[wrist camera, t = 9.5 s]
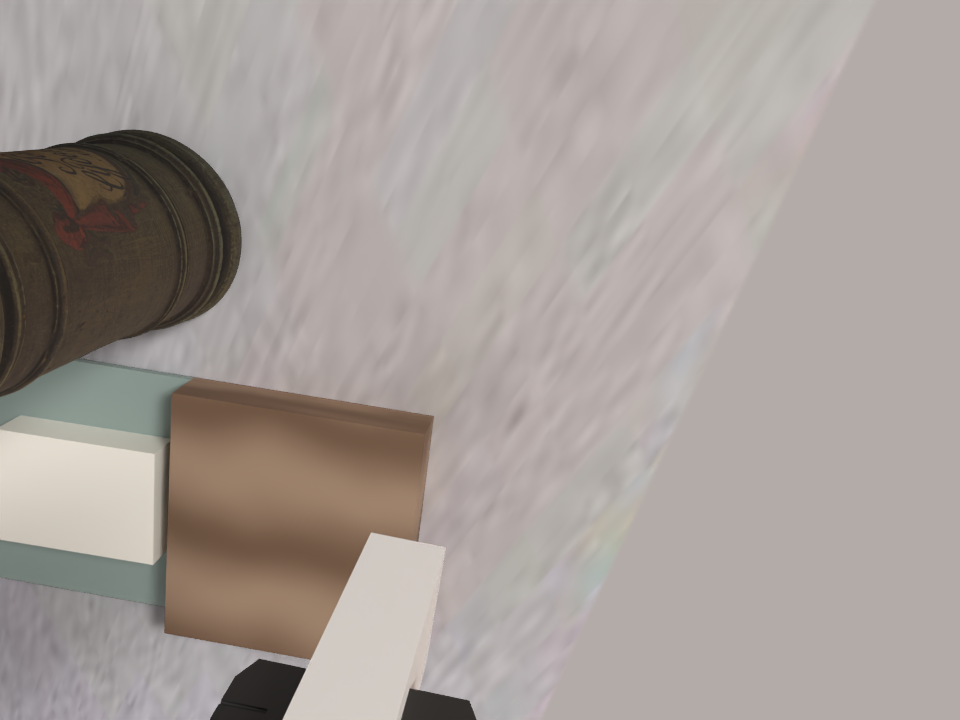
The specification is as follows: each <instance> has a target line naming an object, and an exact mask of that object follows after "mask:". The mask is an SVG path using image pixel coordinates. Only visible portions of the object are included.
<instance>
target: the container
mask: <svg viewBox="0 0 960 720" xmlns="http://www.w3.org/2000/svg"><path fill="white" fill-rule="evenodd" d="M240 255H241V227H240V222H239V217H238V214H237V211H236V208H235V205H234V202H233V200H232V198H231V195H230V193H229V191H228V190H227V188H226V186H225V184H224V183H223V181H222V180H221V178H220V177H219V176H218V174H217V173H216V172H215V171H214V170H213V168H212V167H211V166H210V165H209V164H208V163H207V162H206V161H205V160H204V159H203V158H202V157H200V156H199V155H198V154H197V153H195V152H194V151H193V150H191V149H190V148H188V147H187V146H185V145H183V144H182V143H180V142H178V141H176V140H174V139H172V138H169V137H167V136H164V135H161V134H158V133H154V132H149V131H142V130H121V131H115V132H110V133H105V134H98V135H94V136H90V137H87V138H84V139H82V140H80V141H78V142H76V143H65V144H59V145H55V146H51V147H48V148H45V149H39V150H25V151H13V152H0V397H2V396H6V395H9V394H11V393H14V392H16V391H19V390H21V389H22V388H24V387H26V386H27V385H29V384H30V383H32V382H33V381H34V380H36V379H37V378H38V377H40V376H42V375H44V374H46V373H49V372H51V371H53V370H55V369H57V368H59V367H61V366H63V365H66V364H68V363H70V362H72V361H74V360H76V359H78V358H80V357H82V356H84V355H86V354H88V353H90V352H92V351H94V350H96V349H99V348H101V347H103V346H105V345H107V344H110V343H112V342H114V341H116V340H121V339H126V338H131V337H135V336H138V335H141V334H143V333H145V332H147V331H149V330H157V329H163V328H167V327H171V326H174V325H177V324H179V323H181V322H183V321H187V320H190V319H193V318H195V317H197V316H199V315H201V314H203V313H205V312H206V311H208V310H209V309H211V308H212V307H213V306H215V305H216V304H217V303H218V302H219V301H220V300H221V298H222V297H223V296H224V295H225V293H226V292H227V291H228V289H229V287H230V286H231V284H232V282H233V280H234V278H235V275H236V272H237V269H238V266H239V261H240Z"/></svg>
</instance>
